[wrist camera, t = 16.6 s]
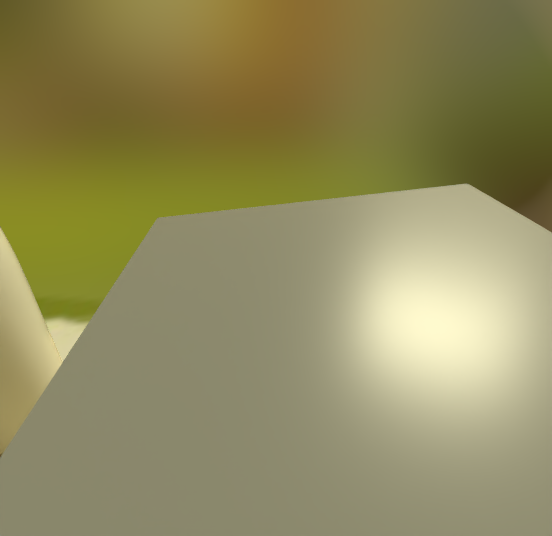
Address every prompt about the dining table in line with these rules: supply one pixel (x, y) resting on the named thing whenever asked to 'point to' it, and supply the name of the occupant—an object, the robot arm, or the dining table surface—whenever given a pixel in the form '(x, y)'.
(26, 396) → the drinking glass
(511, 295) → the tall grey box
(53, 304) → the dining table surface
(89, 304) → the dining table surface
